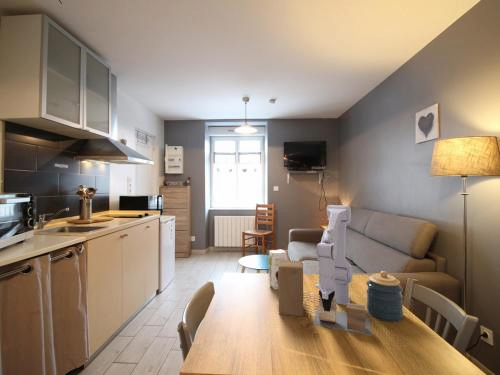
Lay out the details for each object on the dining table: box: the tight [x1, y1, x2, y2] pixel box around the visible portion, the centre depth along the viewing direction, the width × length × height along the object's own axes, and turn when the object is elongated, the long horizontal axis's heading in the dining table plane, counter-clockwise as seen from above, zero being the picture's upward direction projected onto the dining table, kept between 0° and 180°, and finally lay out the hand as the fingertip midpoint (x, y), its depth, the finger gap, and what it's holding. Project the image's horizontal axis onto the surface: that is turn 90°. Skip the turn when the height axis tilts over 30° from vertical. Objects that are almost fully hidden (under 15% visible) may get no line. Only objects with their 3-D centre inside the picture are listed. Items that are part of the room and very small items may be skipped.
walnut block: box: [346, 302, 366, 333], centre depth 87 cm, size 4×6×8 cm, turn 67°
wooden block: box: [277, 259, 304, 317], centre depth 101 cm, size 10×10×20 cm
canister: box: [366, 270, 404, 323], centre depth 97 cm, size 13×13×18 cm
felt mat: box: [312, 307, 373, 337], centre depth 92 cm, size 14×20×1 cm
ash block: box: [318, 295, 337, 322], centre depth 92 cm, size 4×6×8 cm, turn 67°
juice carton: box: [268, 248, 288, 291], centre depth 126 cm, size 8×9×19 cm
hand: (327, 310), depth 90 cm, fingers closed
